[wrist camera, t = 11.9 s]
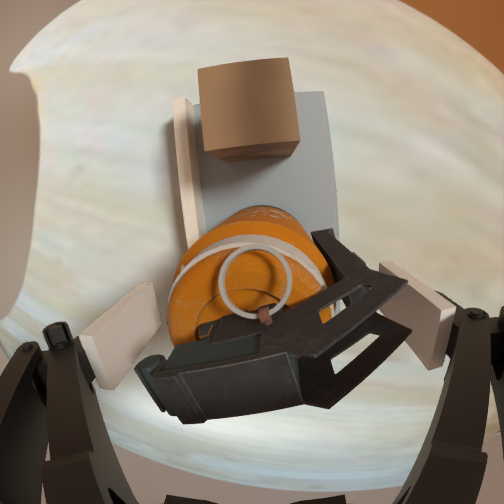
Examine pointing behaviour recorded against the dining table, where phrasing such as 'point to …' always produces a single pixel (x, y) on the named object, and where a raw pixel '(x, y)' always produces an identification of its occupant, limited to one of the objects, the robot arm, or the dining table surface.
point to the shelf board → (257, 174)
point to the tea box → (248, 110)
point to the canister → (268, 320)
